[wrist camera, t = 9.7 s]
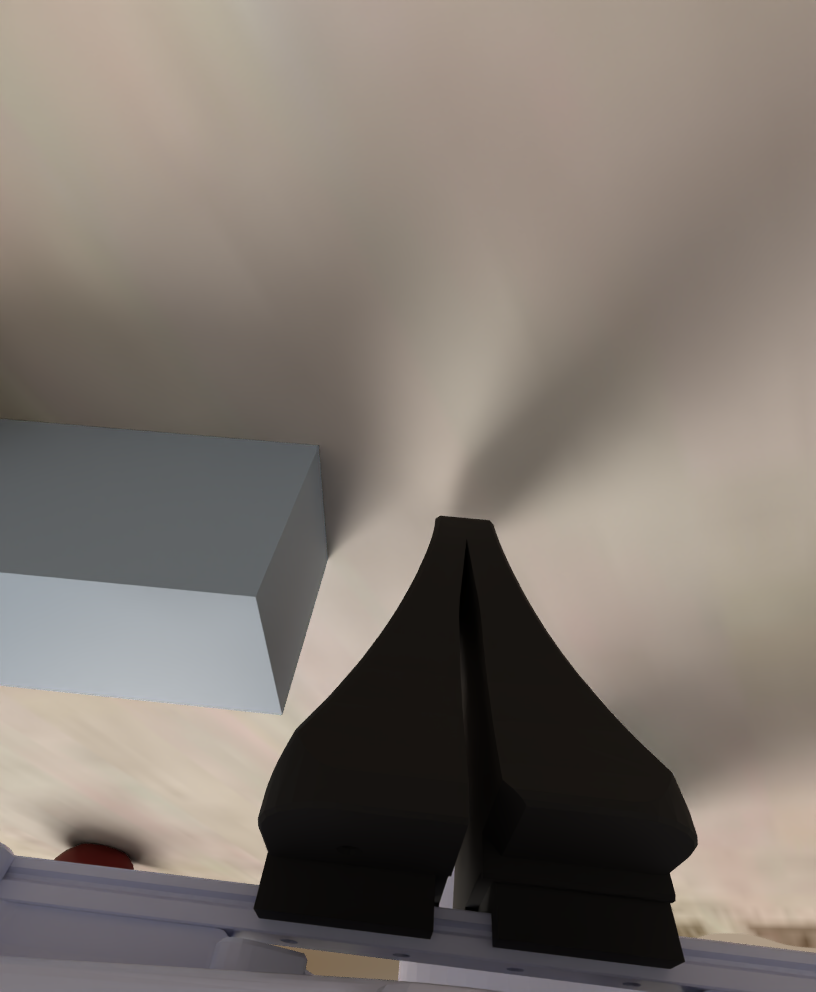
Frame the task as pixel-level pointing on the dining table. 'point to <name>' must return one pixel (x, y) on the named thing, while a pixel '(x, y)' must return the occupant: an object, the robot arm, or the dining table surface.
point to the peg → (157, 563)
